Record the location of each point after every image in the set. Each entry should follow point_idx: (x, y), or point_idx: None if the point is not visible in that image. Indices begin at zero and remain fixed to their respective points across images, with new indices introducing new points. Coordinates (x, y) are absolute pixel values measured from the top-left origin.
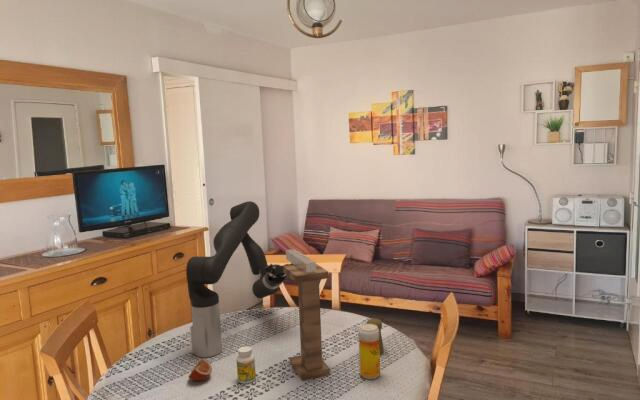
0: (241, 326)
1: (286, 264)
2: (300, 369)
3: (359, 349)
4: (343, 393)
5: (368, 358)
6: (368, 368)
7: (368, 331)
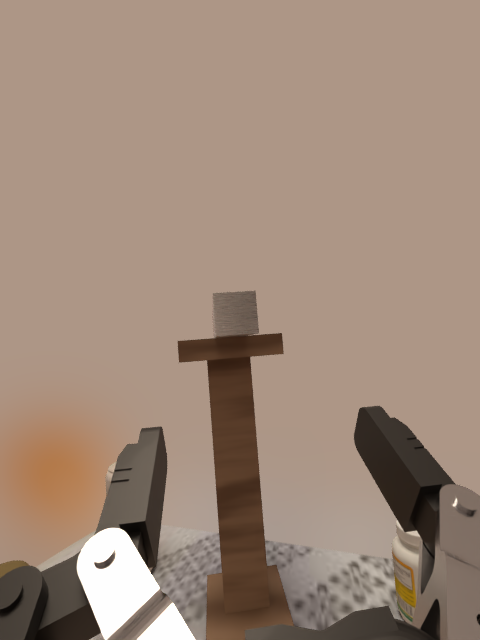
0: None
1: (181, 617)
2: (276, 583)
3: None
4: (213, 534)
5: None
6: None
7: None
